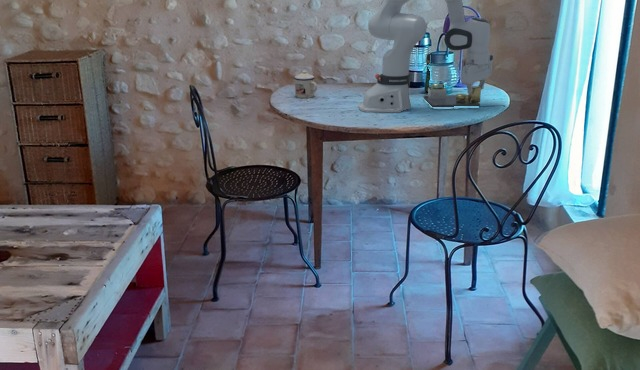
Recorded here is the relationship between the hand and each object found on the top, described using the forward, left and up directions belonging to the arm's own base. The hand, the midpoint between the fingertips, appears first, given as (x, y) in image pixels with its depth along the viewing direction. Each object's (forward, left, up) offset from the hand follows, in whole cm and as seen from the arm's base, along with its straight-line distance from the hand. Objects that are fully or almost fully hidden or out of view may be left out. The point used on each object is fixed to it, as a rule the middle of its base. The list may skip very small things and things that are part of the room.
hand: (475, 91), depth 275 cm
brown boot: (-3, +1, -4) cm, 5 cm away
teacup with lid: (-70, +28, -7) cm, 75 cm away
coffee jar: (-10, +31, -7) cm, 33 cm away
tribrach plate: (-9, +6, -7) cm, 12 cm away
